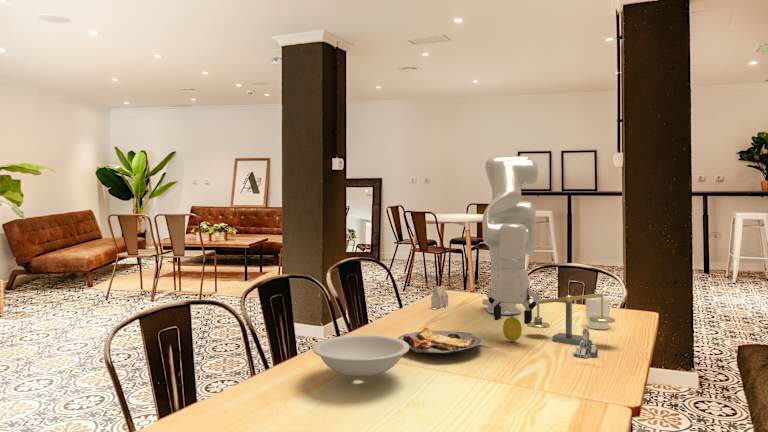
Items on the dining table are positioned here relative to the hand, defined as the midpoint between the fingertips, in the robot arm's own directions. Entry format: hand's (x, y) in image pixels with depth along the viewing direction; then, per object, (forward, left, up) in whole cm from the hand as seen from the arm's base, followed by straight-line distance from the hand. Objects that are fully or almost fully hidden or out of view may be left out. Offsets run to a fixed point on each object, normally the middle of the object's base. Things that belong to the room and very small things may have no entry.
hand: (512, 321), depth 160 cm
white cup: (+14, +38, -7) cm, 41 cm away
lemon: (0, +1, -7) cm, 7 cm away
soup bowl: (-17, -50, -7) cm, 53 cm away
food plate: (-16, -17, -7) cm, 24 cm away
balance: (+13, +13, -7) cm, 19 cm away
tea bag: (-44, +28, -7) cm, 53 cm away
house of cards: (+24, -1, -7) cm, 25 cm away
